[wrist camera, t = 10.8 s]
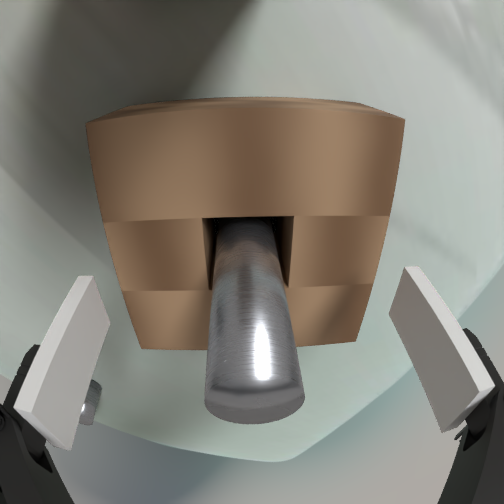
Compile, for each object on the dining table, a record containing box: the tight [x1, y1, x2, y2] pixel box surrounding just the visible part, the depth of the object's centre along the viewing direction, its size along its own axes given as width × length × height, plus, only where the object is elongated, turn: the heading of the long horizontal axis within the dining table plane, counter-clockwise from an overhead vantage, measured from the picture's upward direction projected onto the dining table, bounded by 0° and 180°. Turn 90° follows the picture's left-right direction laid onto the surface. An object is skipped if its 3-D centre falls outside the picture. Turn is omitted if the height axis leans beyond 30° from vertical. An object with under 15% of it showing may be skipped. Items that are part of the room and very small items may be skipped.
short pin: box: [78, 379, 102, 425], centre depth 29 cm, size 3×3×5 cm
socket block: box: [85, 97, 405, 350], centre depth 18 cm, size 14×14×6 cm
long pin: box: [204, 216, 305, 424], centre depth 14 cm, size 3×3×14 cm
